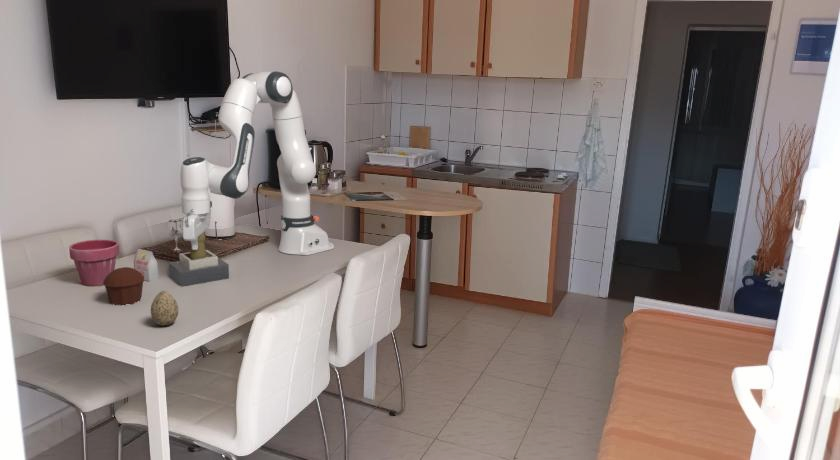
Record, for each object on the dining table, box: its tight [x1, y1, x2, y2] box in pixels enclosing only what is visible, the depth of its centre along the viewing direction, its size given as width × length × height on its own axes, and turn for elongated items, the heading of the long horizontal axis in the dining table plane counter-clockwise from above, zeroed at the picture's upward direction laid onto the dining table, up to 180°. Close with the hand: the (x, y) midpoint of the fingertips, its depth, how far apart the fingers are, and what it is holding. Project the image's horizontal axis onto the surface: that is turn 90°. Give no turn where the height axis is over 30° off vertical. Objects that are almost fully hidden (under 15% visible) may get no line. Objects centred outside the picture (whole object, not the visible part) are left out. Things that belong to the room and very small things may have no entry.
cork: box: [189, 232, 207, 260], centre depth 209 cm, size 6×6×11 cm
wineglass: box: [167, 218, 183, 250], centre depth 239 cm, size 6×6×12 cm
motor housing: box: [168, 249, 230, 287], centre depth 211 cm, size 16×12×8 cm
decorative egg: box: [150, 290, 179, 327], centre depth 172 cm, size 7×7×10 cm
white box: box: [133, 248, 159, 283], centre depth 207 cm, size 4×7×10 cm, turn 64°
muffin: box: [103, 266, 145, 306], centre depth 188 cm, size 12×11×10 cm
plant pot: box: [68, 239, 120, 287], centre depth 202 cm, size 14×14×13 cm
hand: (197, 246), depth 209 cm, fingers open, 4 cm apart
